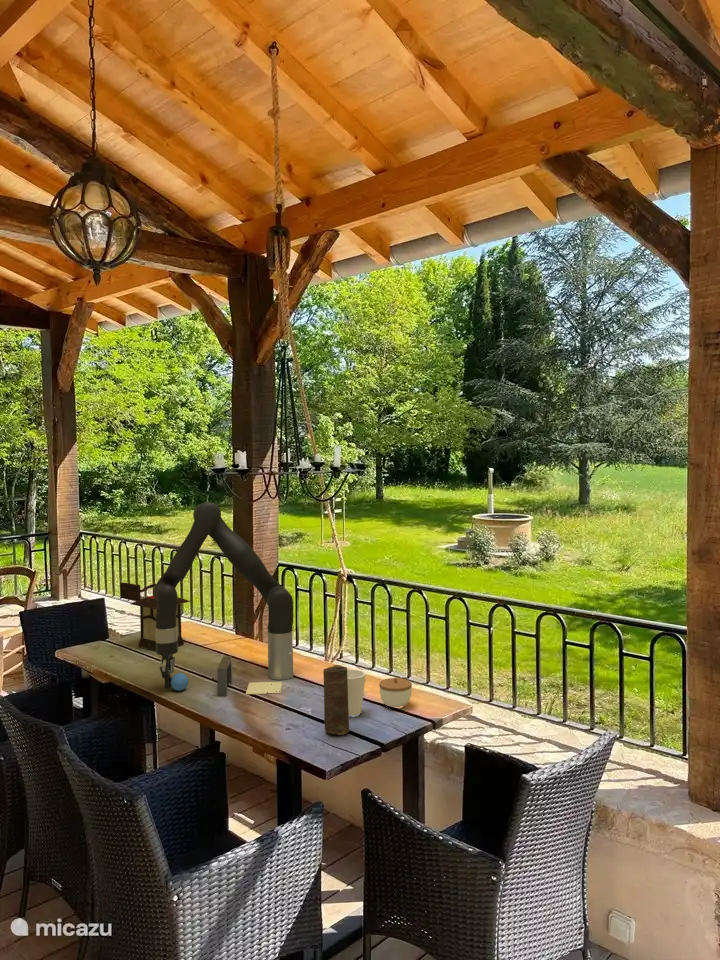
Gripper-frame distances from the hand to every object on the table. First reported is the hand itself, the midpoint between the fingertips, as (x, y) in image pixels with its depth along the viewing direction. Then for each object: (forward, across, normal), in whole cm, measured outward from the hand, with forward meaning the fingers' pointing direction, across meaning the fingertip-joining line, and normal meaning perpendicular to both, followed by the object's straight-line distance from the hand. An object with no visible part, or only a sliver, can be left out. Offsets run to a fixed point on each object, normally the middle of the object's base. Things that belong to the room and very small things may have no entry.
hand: (168, 687), depth 252 cm
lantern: (+1, +55, +18) cm, 58 cm away
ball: (-2, 0, -4) cm, 5 cm away
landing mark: (+2, 0, -34) cm, 34 cm away
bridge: (+1, 0, -20) cm, 20 cm away
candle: (+2, -42, -59) cm, 73 cm away
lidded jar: (+2, -21, -79) cm, 82 cm away
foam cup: (+2, -27, -64) cm, 70 cm away
